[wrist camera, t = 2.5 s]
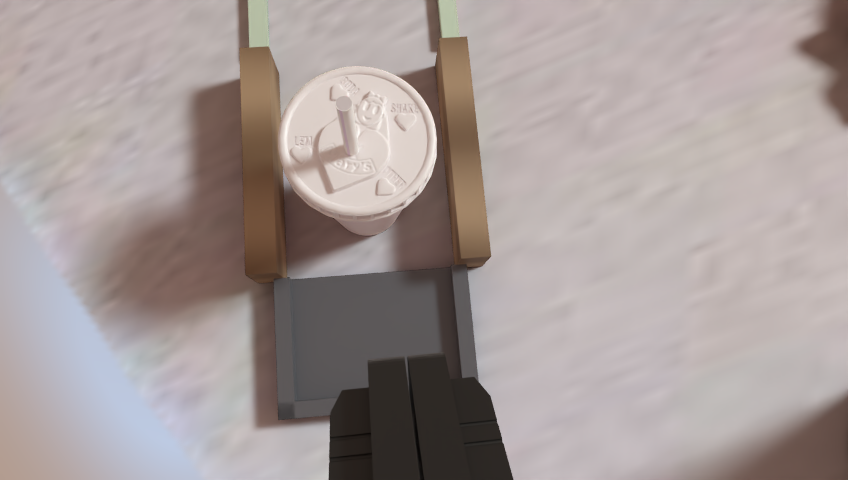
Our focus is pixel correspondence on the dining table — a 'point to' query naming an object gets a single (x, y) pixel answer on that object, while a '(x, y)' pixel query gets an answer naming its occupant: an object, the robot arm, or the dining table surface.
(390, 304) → the tray
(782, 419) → the dining table surface
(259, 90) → the walnut channel
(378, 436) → the robot arm
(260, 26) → the frame
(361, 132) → the smoothie
